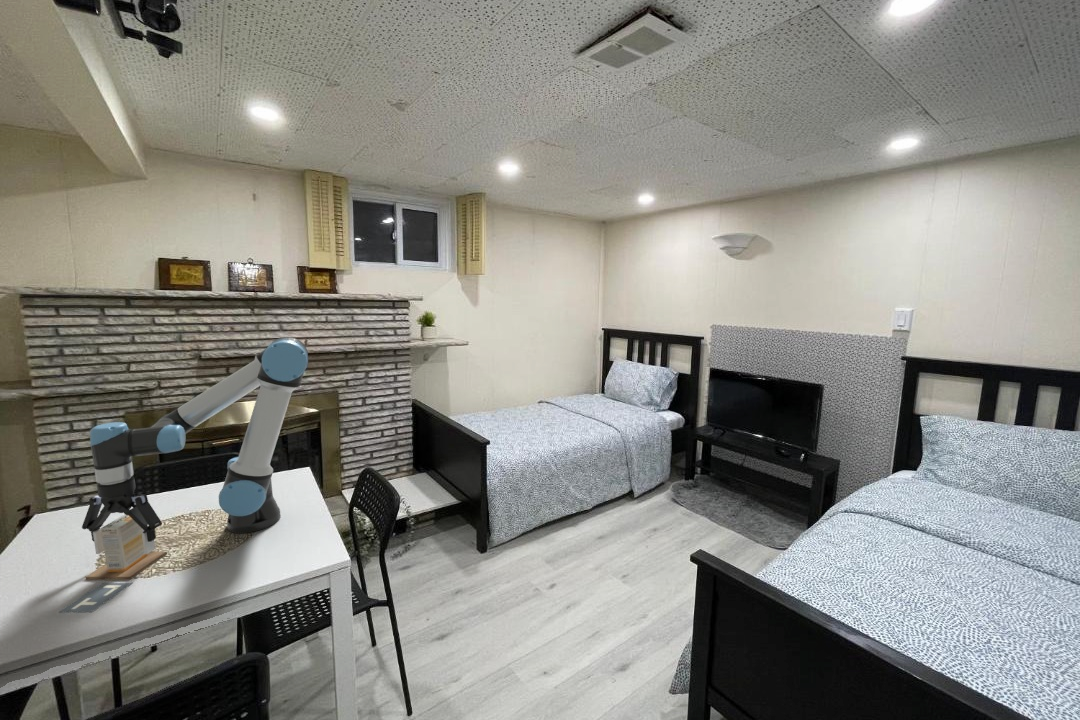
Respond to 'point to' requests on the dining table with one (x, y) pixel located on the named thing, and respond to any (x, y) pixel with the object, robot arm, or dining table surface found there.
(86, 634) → the dining table surface
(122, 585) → the blue gray tile
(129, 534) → the supplement box
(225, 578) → the dining table surface
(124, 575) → the coaster
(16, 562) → the dining table surface
